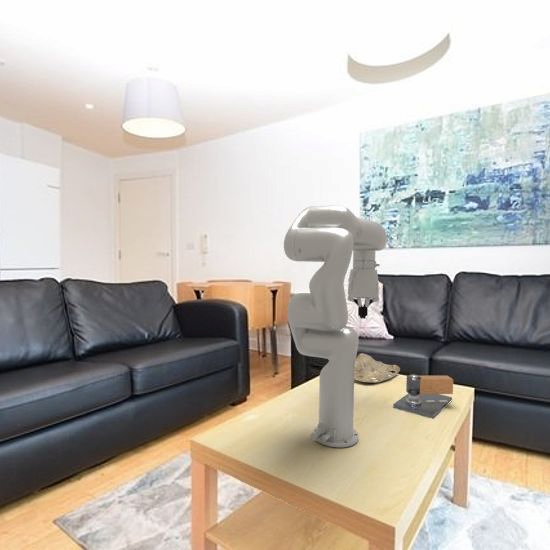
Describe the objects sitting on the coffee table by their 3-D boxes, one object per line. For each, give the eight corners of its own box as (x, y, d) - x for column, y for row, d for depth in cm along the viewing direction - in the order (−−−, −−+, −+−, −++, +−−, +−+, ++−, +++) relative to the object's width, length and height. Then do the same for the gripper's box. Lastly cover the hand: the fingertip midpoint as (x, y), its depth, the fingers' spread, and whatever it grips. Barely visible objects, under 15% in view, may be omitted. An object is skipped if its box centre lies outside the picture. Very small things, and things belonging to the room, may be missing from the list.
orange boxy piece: (409, 394, 127) (409, 378, 127) (404, 389, 132) (404, 373, 132) (453, 394, 128) (453, 377, 128) (446, 389, 133) (447, 373, 132)
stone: (370, 344, 178) (402, 346, 169) (373, 365, 179) (405, 368, 170) (341, 370, 155) (377, 374, 146) (345, 394, 156) (380, 399, 147)
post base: (434, 418, 120) (434, 404, 120) (393, 407, 128) (393, 394, 128) (453, 400, 135) (453, 388, 135) (415, 391, 144) (415, 379, 143)
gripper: (383, 265, 136) (382, 316, 137) (341, 265, 137) (340, 315, 138) (388, 266, 128) (386, 320, 129) (343, 265, 130) (341, 319, 131)
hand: (362, 317), depth 134 cm, fingers closed
